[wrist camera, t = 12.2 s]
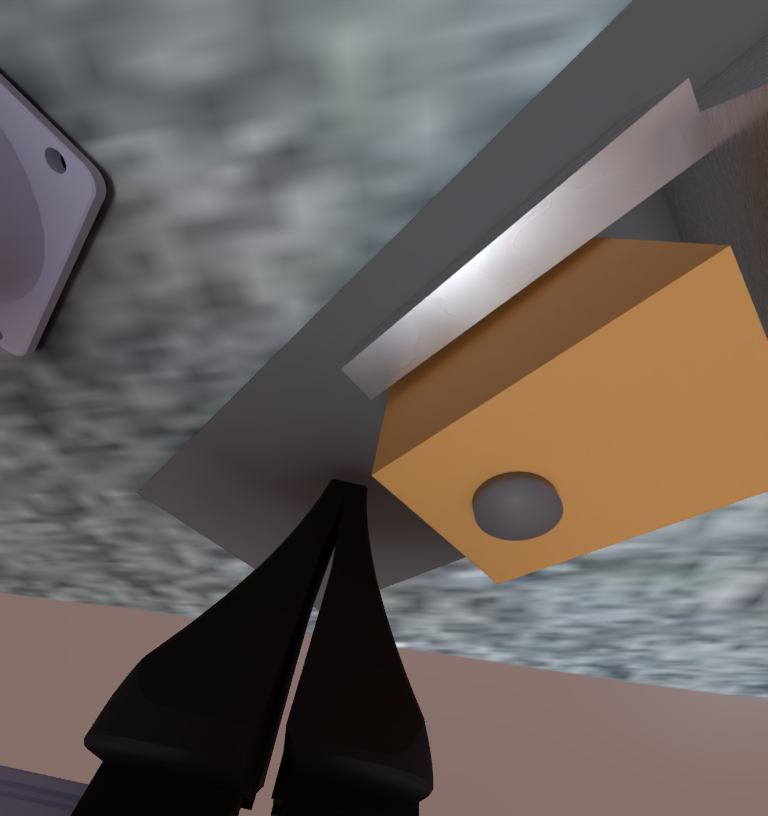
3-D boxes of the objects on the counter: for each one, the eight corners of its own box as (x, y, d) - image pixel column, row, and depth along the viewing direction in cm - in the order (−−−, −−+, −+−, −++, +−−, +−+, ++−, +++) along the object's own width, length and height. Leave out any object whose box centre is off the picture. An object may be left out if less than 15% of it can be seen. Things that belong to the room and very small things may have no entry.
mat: (147, 483, 15) (136, 492, 14) (1076, -437, 4) (1178, -541, 3) (323, 601, 19) (321, 611, 18) (1039, 316, 8) (1083, 323, 7)
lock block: (391, 380, 10) (368, 486, 6) (573, 236, 7) (754, 246, 3) (472, 464, 11) (500, 596, 7) (649, 367, 9) (841, 486, 5)
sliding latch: (352, 348, 9) (315, 411, 6) (836, -67, 5) (1646, -643, 2) (493, 500, 12) (519, 601, 9) (894, 321, 8) (1252, 393, 4)
